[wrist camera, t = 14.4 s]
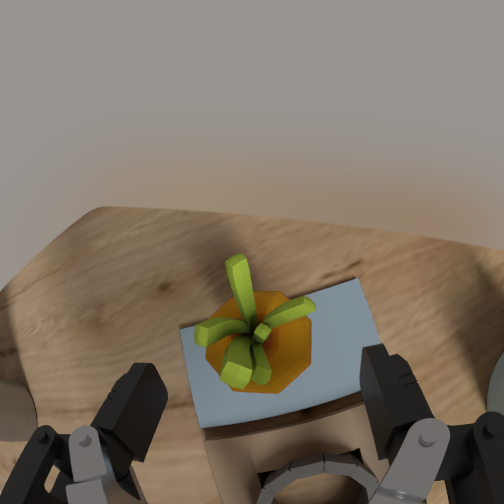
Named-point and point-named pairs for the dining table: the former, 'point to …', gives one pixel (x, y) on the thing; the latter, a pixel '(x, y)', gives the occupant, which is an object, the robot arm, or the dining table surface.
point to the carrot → (257, 335)
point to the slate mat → (309, 381)
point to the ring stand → (296, 456)
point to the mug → (496, 388)
